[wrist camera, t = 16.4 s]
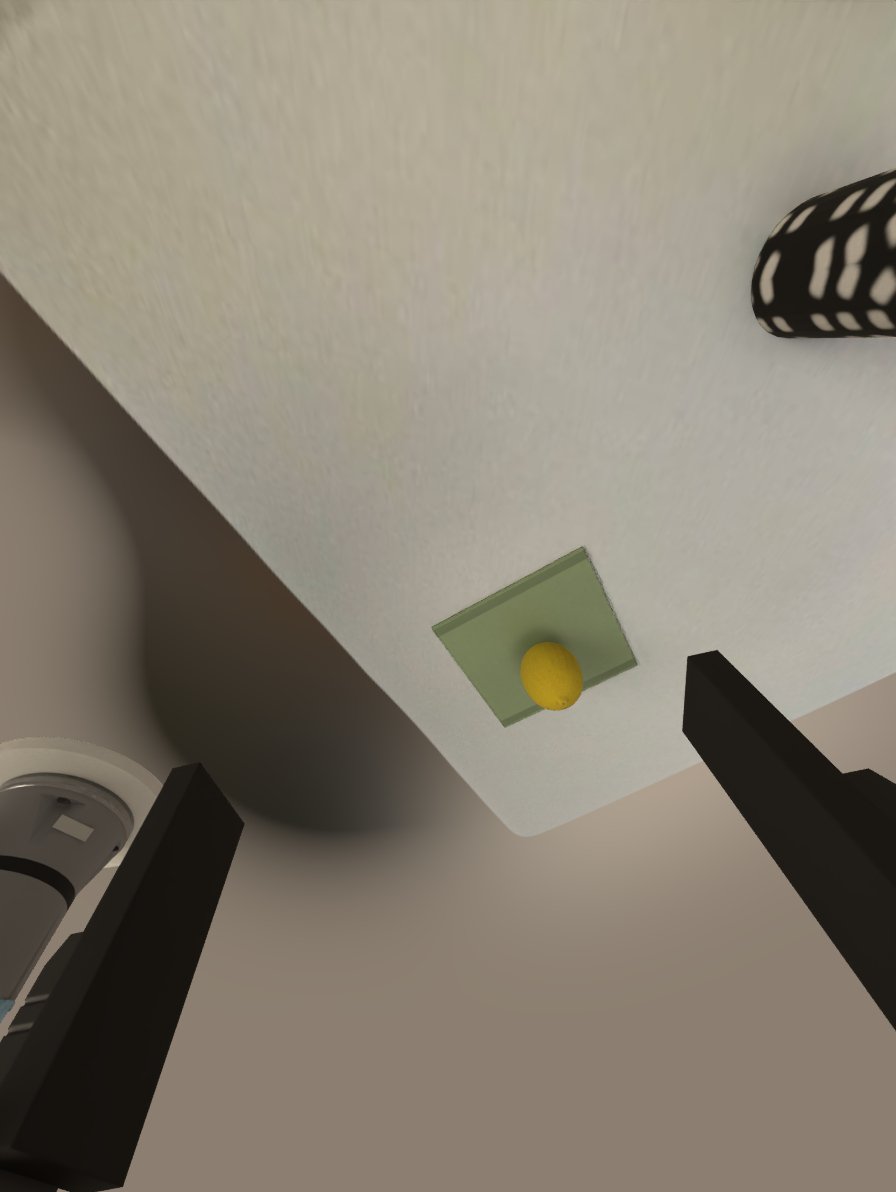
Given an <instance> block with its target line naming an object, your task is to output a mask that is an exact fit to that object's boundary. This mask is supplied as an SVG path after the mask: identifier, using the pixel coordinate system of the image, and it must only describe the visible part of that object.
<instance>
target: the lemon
mask: <svg viewBox="0 0 896 1192" xmlns="http://www.w3.org/2000/svg"><path fill="white" fill-rule="evenodd" d="M520 674H521V679H522V683H523V686H524V688H525V690H526V692H527V693H528V694H529V696H530V697H531V698H532V700H533V701H534V702H535V703H537V704H538V705H539V706H541V707H543V708H545V709H548V710H554V711H555V710H563V709H566V708H568V707H570V706H571V705H573V704H574V703H575V702H576V701H577V700H578V698H579V697H580V695H581V692H582V688H583V677H582V671H581V668H580V666H579V664H578V661H577V659H576V658H575V657H574V655H573V654H572V653H571V652H570V651H569V650H568V649H567V648H565V647H564V646H562V645H560V644H557V643H554V642H542V643H539V644H536V645H534V646H533V647H531V648H530V649H529V650H528V651H527V652H526V654H525V655H524V657H523V659H522V662H521V671H520Z"/></svg>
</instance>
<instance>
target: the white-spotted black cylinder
mask: <svg viewBox="0 0 896 1192" xmlns="http://www.w3.org/2000/svg"><path fill="white" fill-rule="evenodd" d="M751 298H752V306H753V310H754V313H755V316H756V318H757V320H758V321H759V323H760V324H761V326H762V327H763V328H764V329H765V330H766V331H768V332H769V333H771V334H773V335H775V336H777V337H783V338H857V337H896V168H895V169H892V170H889V171H886V172H883V173H881V174H878V175H875V176H872V177H869V178H867V179H864V180H861V181H858V182H855V183H853V184H850V185H847V186H844V187H841V188H838V189H836V190H833V191H830V192H827V193H824V194H822V195H819V196H816V197H813V198H811V199H809V200H808V201H806V202H804V203H802V204H800V205H799V206H798V207H796V208H795V209H794V210H793V211H791V212H790V213H789V214H788V215H787V216H786V217H785V218H784V219H783V220H782V221H781V222H780V223H779V224H778V226H777V227H776V228H775V230H774V231H773V232H772V234H771V235H770V237H769V238H768V240H767V242H766V243H765V245H764V247H763V249H762V251H761V253H760V255H759V258H758V261H757V264H756V266H755V270H754V275H753V279H752V290H751Z"/></svg>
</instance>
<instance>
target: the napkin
mask: <svg viewBox="0 0 896 1192" xmlns="http://www.w3.org/2000/svg"><path fill="white" fill-rule="evenodd" d="M432 630H433V631H434V633H435V634H436V635H437V637H438V638H439V639H440V641H441V642H442V643H443V645H444V646H445V647H446V649H447V650H448V651H449V653H450V654H451V656H452V657H453V658H454V660H455V661H456V662H457V664H458V665H459V666H460V668H461V669H462V670H463V672H464V673H465V675H466V676H467V677H468V679H469V680H470V681H471V683H472V684H473V685H474V687H475V688H476V689H477V691H478V692H479V693H480V695H481V696H482V698H483V699H484V700H485V702H486V703H487V704H488V706H489V707H490V708H491V710H492V711H493V712H494V714H495V715H496V717H497V718H498V719H499V721H500V722H501V723H502V725H503V726H504V727H507V726H510V725H512V724H514V723H516V722H518V721H520V720H522V719H524V718H527V717H529V716H531V715H533V714H535V713H537V712H539V711H541V710H544V709H545V708H543V707H541V706H539V705H538V704H537V703H535V702H534V701H533V700H532V698H531V697H530V696H529V694H528V693H527V692H526V690H525V688H524V686H523V683H522V679H521V674H520V671H521V662H522V659H523V657H524V655H525V654H526V652H527V651H528V650H529V649H530V648H531V647H533V646H534V645H536V644H539V643H542V642H554V643H557V644H560V645H562V646H564V647H565V648H567V649H568V650H569V651H570V652H571V653H572V654H573V655H574V657H575V658H576V659H577V661H578V664H579V666H580V668H581V671H582V677H583V688H582V691H584V690H586V689H588V688H590V687H592V686H595V685H597V684H599V683H601V682H603V681H605V680H607V679H609V678H612V677H614V676H616V675H618V674H620V673H622V672H624V671H626V670H629V669H631V668H633V667H635V666H637V663H636V661H635V658H634V656H633V654H632V652H631V650H630V648H629V645H628V643H627V641H626V639H625V637H624V635H623V633H622V630H621V628H620V626H619V624H618V622H617V620H616V617H615V615H614V613H613V611H612V609H611V607H610V604H609V602H608V600H607V598H606V596H605V594H604V592H603V589H602V587H601V585H600V583H599V581H598V579H597V576H596V574H595V572H594V570H593V568H592V566H591V563H590V561H589V559H588V557H587V555H586V553H585V550H584V548H583V547H581V548H579V549H577V550H575V551H573V552H571V553H569V554H568V555H566V556H564V557H562V558H560V559H558V560H556V561H555V562H553V563H551V564H549V565H547V566H545V567H543V568H541V569H540V570H538V571H536V572H534V573H532V574H530V575H528V576H527V577H525V578H523V579H521V580H519V581H517V582H515V583H513V584H512V585H510V586H508V587H506V588H504V589H502V590H500V591H499V592H497V593H495V594H493V595H491V596H489V597H487V598H485V599H484V600H482V601H480V602H478V603H476V604H474V605H472V606H471V607H469V608H467V609H465V610H463V611H461V612H459V613H458V614H456V615H454V616H452V617H450V618H448V619H446V620H444V621H443V622H441V623H439V624H437V625H435V626H433V627H432Z"/></svg>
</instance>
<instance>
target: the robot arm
mask: <svg viewBox="0 0 896 1192" xmlns="http://www.w3.org/2000/svg"><path fill="white" fill-rule="evenodd" d="M682 731H683V733H684V734H685V735H686V737H687V738H688V740H689V741H690V742H691V744H692V745H693V747H694V748H695V749H696V751H697V752H698V754H699V755H700V756H701V758H702V759H703V761H704V762H705V764H706V765H707V766H708V768H709V769H710V771H711V772H712V773H713V775H714V776H715V777H716V779H717V780H718V782H719V783H720V784H721V786H722V787H723V789H724V790H725V792H726V793H727V794H728V796H729V797H730V799H731V800H732V801H733V803H734V804H735V806H736V807H737V808H738V809H739V811H740V813H741V814H742V816H743V817H744V818H745V820H746V821H747V823H748V824H749V825H750V827H751V828H752V830H753V831H754V832H755V834H756V835H757V836H758V838H759V839H760V841H761V842H762V844H763V845H764V846H765V848H766V849H767V851H768V852H769V853H770V855H771V856H772V858H773V859H774V860H775V862H776V863H777V865H778V866H779V867H780V869H781V870H782V872H783V873H784V875H785V876H786V877H787V879H788V880H789V882H790V883H791V884H792V886H793V887H794V888H795V890H796V891H797V893H798V894H799V896H800V897H801V898H802V900H803V901H804V903H805V904H806V905H807V907H808V908H809V910H810V911H811V912H812V914H813V915H814V917H815V918H816V919H817V921H818V922H819V924H820V925H821V927H822V928H823V929H824V931H825V932H826V933H827V935H828V936H829V938H830V939H831V941H832V942H833V943H834V944H835V946H836V948H837V949H838V950H839V952H840V953H841V955H842V956H843V957H844V959H845V960H846V962H847V963H848V964H849V966H850V967H851V969H852V970H853V971H854V973H855V974H856V975H857V977H858V978H859V980H860V981H861V983H862V984H863V986H864V987H865V988H866V990H867V991H868V993H869V994H870V995H871V997H872V998H873V999H874V1001H875V1002H876V1004H877V1005H878V1007H879V1008H880V1009H881V1011H882V1012H883V1014H884V1015H885V1016H886V1018H887V1019H888V1020H889V1022H890V1023H891V1025H892V1026H893V1028H894V1029H895V1030H896V784H895V783H893V782H891V781H889V780H888V779H886V778H884V777H883V776H881V775H879V774H877V773H876V772H874V771H872V770H870V769H864V770H859V771H854V772H849V773H844V774H842V773H841V772H840V771H839V770H838V769H837V768H836V767H835V766H834V765H833V764H832V763H831V762H830V761H829V760H828V759H827V758H826V757H825V756H824V755H823V754H822V753H821V752H820V751H819V750H818V749H817V748H816V747H815V746H814V745H813V744H812V743H811V742H810V741H809V740H808V739H807V738H806V737H805V736H804V735H803V734H802V733H801V732H800V731H799V730H797V728H796V727H794V725H793V724H792V723H791V722H790V721H789V720H788V719H787V718H786V717H785V716H784V715H782V714H781V713H780V712H779V711H778V710H777V709H776V708H775V707H774V706H773V705H772V704H771V703H770V702H769V701H768V700H767V699H766V698H765V697H764V696H763V695H762V694H761V693H760V692H759V691H758V690H757V689H756V688H755V687H754V686H753V685H752V684H751V683H750V682H749V681H748V680H747V679H746V678H745V677H744V676H743V675H742V674H741V673H740V672H739V671H738V670H737V669H736V668H735V667H734V666H733V665H732V664H731V663H730V662H729V661H728V660H727V659H726V658H725V657H724V656H723V655H722V654H721V653H720V652H719V651H718V650H715V651H710V652H706V653H701V654H696V655H692V656H688V658H687V672H686V686H685V700H684V714H683V728H682ZM243 827H244V822H243V821H242V820H241V818H240V817H239V815H238V814H237V813H236V811H235V810H234V808H233V807H232V806H231V804H230V803H229V802H228V800H227V799H226V797H225V796H224V795H223V793H222V792H221V790H220V789H219V788H218V786H217V785H216V784H215V782H214V781H213V780H212V778H211V777H210V775H209V774H208V773H207V771H206V770H205V768H204V767H203V766H202V764H201V763H195V764H191V765H186V766H181V767H177V768H173V769H172V771H171V773H170V774H169V776H168V778H167V780H166V782H165V783H164V785H163V787H162V789H161V791H160V793H159V794H158V796H157V798H156V800H155V802H154V804H153V805H152V807H151V809H150V811H149V813H148V815H147V816H146V818H145V820H144V822H143V824H142V825H141V827H140V829H139V831H138V833H137V835H136V836H135V838H134V840H133V842H132V844H131V846H130V847H129V849H128V851H127V853H126V855H125V857H124V858H123V860H122V862H121V864H120V866H119V868H118V869H117V871H116V873H115V875H114V877H113V879H112V880H111V882H110V884H109V886H108V888H107V889H106V891H105V893H104V895H103V897H102V899H101V901H100V902H99V904H98V906H97V908H96V910H95V912H94V913H93V915H92V917H91V919H90V920H89V922H88V924H87V926H86V928H85V930H84V932H80V933H75V934H71V935H70V936H69V937H68V939H67V940H66V941H65V942H64V943H63V944H62V946H61V947H60V948H59V949H58V950H57V952H56V953H55V954H54V955H53V956H52V958H51V959H50V960H49V961H48V962H47V964H46V965H45V966H44V968H43V970H42V971H41V973H40V975H39V976H38V978H37V980H36V982H35V983H34V985H33V987H32V989H31V990H30V992H29V994H28V995H27V997H26V999H25V1001H26V1002H25V1005H24V1006H22V1007H21V1008H20V1009H19V1011H18V1013H17V1014H16V1016H15V1018H14V1020H13V1021H12V1023H11V1025H10V1026H9V1028H8V1030H9V1032H8V1034H7V1035H6V1036H4V1037H3V1039H2V1040H1V1042H0V1192H57V1189H58V1188H59V1189H62V1190H66V1191H69V1192H98V1191H104V1190H109V1189H114V1188H120V1187H123V1185H124V1182H125V1179H126V1176H127V1173H128V1170H129V1167H130V1164H131V1161H132V1158H133V1155H134V1152H135V1149H136V1146H137V1143H138V1140H139V1137H140V1134H141V1131H142V1128H143V1125H144V1122H145V1119H146V1116H147V1113H148V1110H149V1107H150V1104H151V1101H152V1098H153V1095H154V1092H155V1089H156V1086H157V1083H158V1080H159V1077H160V1074H161V1071H162V1068H163V1065H164V1063H165V1059H166V1057H167V1054H168V1050H169V1048H170V1045H171V1042H172V1039H173V1036H174V1033H175V1029H176V1027H177V1024H178V1021H179V1018H180V1015H181V1012H182V1009H183V1006H184V1003H185V1000H186V997H187V994H188V991H189V988H190V985H191V982H192V979H193V976H194V973H195V970H196V967H197V964H198V961H199V958H200V955H201V952H202V949H203V946H204V943H205V940H206V937H207V934H208V931H209V928H210V925H211V922H212V919H213V916H214V913H215V910H216V907H217V904H218V901H219V898H220V895H221V892H222V890H223V887H224V884H225V881H226V878H227V874H228V871H229V868H230V866H231V863H232V860H233V857H234V854H235V851H236V847H237V845H238V841H239V839H240V836H241V833H242V830H243ZM133 828H134V817H133V814H132V812H131V810H130V808H129V807H128V805H127V804H126V803H125V802H124V801H123V800H122V799H121V798H120V797H119V796H118V795H116V794H115V793H114V792H112V791H111V790H109V789H107V788H105V787H104V786H102V785H100V784H97V783H95V782H93V781H90V780H87V779H84V778H80V777H77V776H72V775H67V774H60V773H31V774H25V775H21V776H17V777H15V778H12V779H10V780H8V781H6V782H5V783H3V784H2V785H1V786H0V1023H1V1021H2V1020H3V1018H4V1017H5V1015H6V1014H7V1012H9V1011H10V1010H11V1009H12V1007H13V1006H14V1004H15V999H16V998H17V996H18V994H19V992H20V991H21V989H22V987H23V985H24V984H25V982H26V981H27V979H28V977H29V975H30V974H31V972H32V970H33V969H34V967H35V965H36V963H37V961H38V960H39V958H40V956H41V955H42V953H43V952H44V950H45V948H46V946H47V945H48V943H49V941H50V940H51V938H52V936H53V934H54V933H55V931H56V929H57V927H58V926H59V924H60V922H61V921H62V919H63V917H64V916H65V914H66V912H67V910H68V909H69V907H70V905H71V904H72V902H73V900H74V899H75V897H76V895H77V894H78V893H79V892H80V891H81V890H82V889H83V888H84V887H85V885H87V884H88V883H89V882H90V881H91V880H92V879H93V878H94V877H95V876H96V875H97V874H98V873H99V872H100V871H101V870H102V869H103V868H104V867H105V866H106V865H107V864H108V863H109V862H110V860H111V859H112V858H114V857H115V856H116V855H117V854H118V853H119V852H120V851H121V850H122V848H123V847H124V845H125V844H126V842H127V840H128V838H129V836H130V835H131V833H132V831H133Z"/></svg>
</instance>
